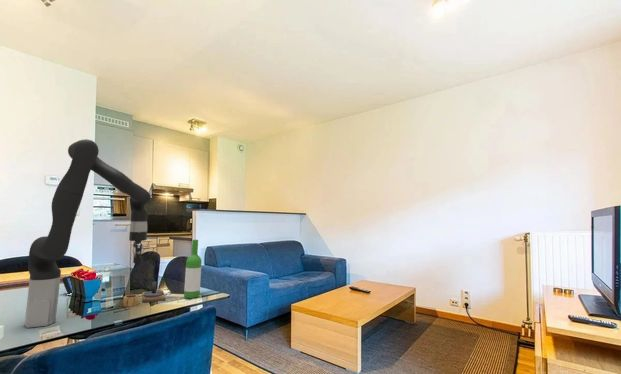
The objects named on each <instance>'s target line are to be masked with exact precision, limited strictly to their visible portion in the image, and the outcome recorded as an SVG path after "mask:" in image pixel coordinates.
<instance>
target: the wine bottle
mask: <svg viewBox="0 0 621 374" xmlns="http://www.w3.org/2000/svg"><path fill="white" fill-rule="evenodd" d="M198 248H199V240H198V239H192V243H191V254H190V255H189V256H188V257H187V259H186V263H185V276H184V287H183V288H184V291H183V297H184V298H186V299H195V298H194V297H197V298H199V296H200V295H201V294H200V293H201V291H200V290H201V278H202V277H201V276H202V275H201V274H202V258H201V257H200V255H198V250H199V249H198Z"/></svg>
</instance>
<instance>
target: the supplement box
mask: <svg viewBox="0 0 621 374" xmlns="http://www.w3.org/2000/svg"><path fill="white" fill-rule="evenodd" d="M95 273H96V275H97V277H99V278H100V280H101V284H100V288H99V290H98V293H96V294H95V295H94V296H93V297H94V298H95V299H102V292H101V289H102V288H103V287H102V286H103V275H104V274H102V273H98V272H95Z"/></svg>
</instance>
